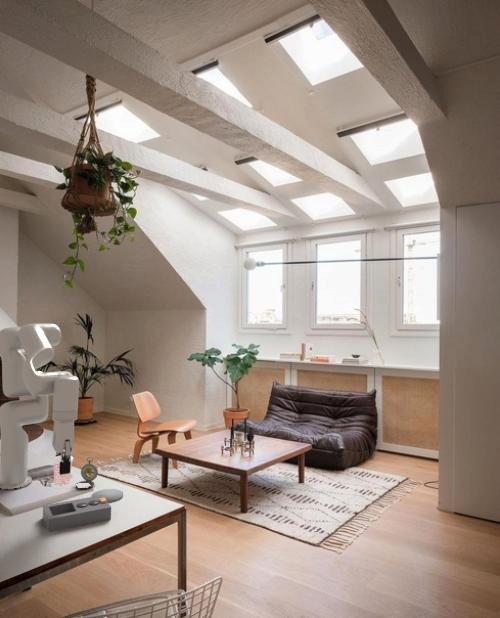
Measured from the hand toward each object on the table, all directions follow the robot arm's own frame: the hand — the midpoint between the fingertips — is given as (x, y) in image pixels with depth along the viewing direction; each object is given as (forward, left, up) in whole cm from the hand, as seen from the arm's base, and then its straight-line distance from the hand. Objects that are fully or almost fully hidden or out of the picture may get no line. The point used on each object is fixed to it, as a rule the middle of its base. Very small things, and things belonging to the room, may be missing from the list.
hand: (62, 469), depth 154 cm
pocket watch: (-26, +14, -17) cm, 34 cm away
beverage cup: (0, 0, -6) cm, 6 cm away
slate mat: (-12, +18, -17) cm, 27 cm away
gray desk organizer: (+1, +5, -17) cm, 17 cm away
